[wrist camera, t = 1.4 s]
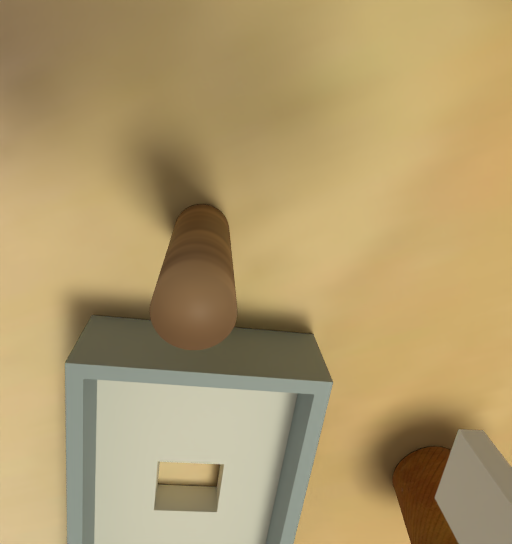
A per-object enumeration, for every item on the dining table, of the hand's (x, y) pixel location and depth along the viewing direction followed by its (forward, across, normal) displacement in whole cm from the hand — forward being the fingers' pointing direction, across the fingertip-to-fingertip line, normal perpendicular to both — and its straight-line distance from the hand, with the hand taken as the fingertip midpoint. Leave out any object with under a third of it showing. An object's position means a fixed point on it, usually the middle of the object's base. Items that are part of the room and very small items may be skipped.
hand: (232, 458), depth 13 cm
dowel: (+19, -2, +1) cm, 19 cm away
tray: (+18, -1, -19) cm, 27 cm away
